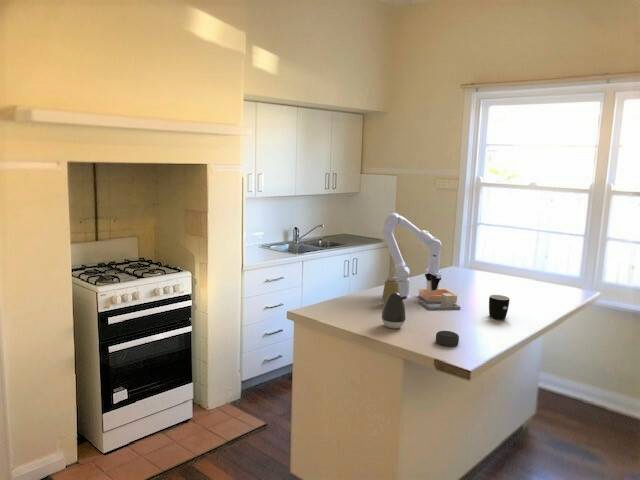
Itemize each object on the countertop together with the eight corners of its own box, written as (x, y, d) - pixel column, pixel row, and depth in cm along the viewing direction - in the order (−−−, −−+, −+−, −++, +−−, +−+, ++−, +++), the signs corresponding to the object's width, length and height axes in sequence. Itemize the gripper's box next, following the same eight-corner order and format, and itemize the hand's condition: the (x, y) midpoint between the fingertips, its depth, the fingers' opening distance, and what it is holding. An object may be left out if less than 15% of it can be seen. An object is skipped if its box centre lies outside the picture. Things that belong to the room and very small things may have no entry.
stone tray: (429, 311, 256) (429, 307, 256) (419, 304, 267) (420, 300, 267) (460, 310, 260) (460, 306, 259) (449, 304, 271) (450, 300, 270)
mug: (502, 322, 244) (504, 300, 243) (483, 317, 250) (486, 296, 249) (513, 317, 253) (515, 296, 252) (495, 313, 259) (497, 292, 258)
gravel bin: (428, 303, 270) (429, 295, 269) (418, 296, 283) (419, 289, 282) (456, 303, 273) (457, 295, 273) (445, 296, 286) (445, 289, 285)
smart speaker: (432, 339, 217) (433, 329, 217) (454, 339, 218) (455, 330, 217) (438, 347, 208) (439, 337, 208) (461, 347, 209) (462, 337, 208)
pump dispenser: (399, 332, 223) (402, 297, 221) (376, 327, 228) (379, 292, 226) (409, 326, 232) (411, 292, 229) (387, 321, 237) (389, 288, 235)
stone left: (429, 293, 274) (430, 282, 273) (426, 291, 278) (427, 280, 277) (437, 293, 275) (438, 282, 274) (434, 291, 279) (434, 280, 278)
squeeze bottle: (400, 304, 265) (403, 269, 262) (395, 308, 258) (398, 272, 255) (384, 302, 268) (387, 267, 265) (379, 305, 261) (382, 269, 258)
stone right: (444, 307, 262) (445, 295, 261) (440, 305, 266) (441, 293, 265) (453, 307, 262) (454, 295, 262) (449, 305, 267) (450, 293, 266)
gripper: (447, 266, 268) (445, 292, 270) (435, 260, 282) (433, 285, 284) (434, 266, 266) (432, 292, 269) (422, 260, 280) (420, 285, 283)
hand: (431, 288), depth 276 cm, fingers closed on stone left, 4 cm apart
